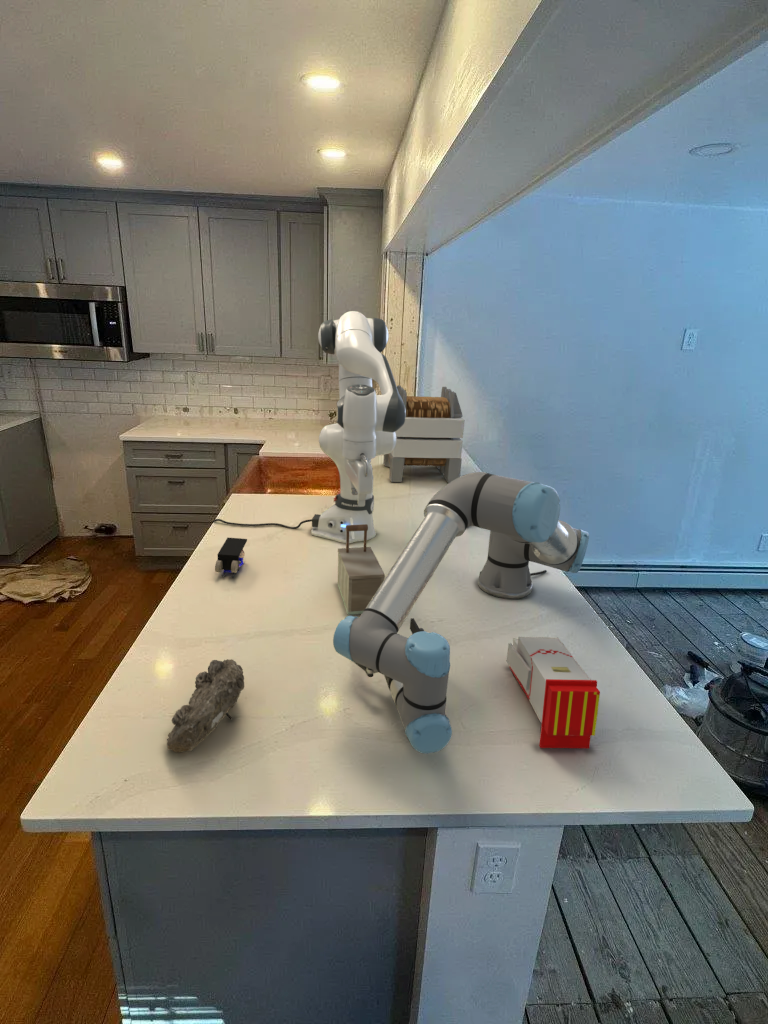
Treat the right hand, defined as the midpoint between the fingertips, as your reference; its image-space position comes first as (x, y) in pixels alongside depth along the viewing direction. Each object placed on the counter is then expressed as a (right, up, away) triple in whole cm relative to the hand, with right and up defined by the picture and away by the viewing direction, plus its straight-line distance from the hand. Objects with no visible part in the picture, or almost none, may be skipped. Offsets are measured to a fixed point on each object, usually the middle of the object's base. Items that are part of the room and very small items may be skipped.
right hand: (382, 625), depth 128 cm
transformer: (+18, +45, +147) cm, 154 cm away
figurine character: (-45, +9, +39) cm, 60 cm away
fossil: (-32, -13, -20) cm, 40 cm away
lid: (-6, +12, +24) cm, 27 cm away
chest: (-6, +2, +27) cm, 28 cm away
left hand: (-7, +29, +24) cm, 38 cm away
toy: (+33, -13, -11) cm, 37 cm away
